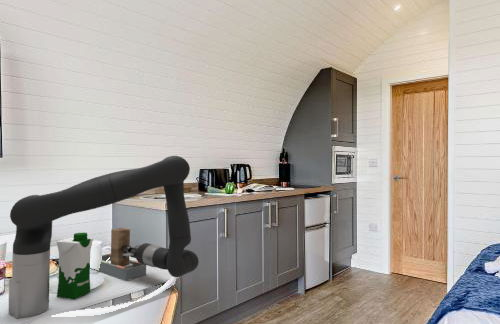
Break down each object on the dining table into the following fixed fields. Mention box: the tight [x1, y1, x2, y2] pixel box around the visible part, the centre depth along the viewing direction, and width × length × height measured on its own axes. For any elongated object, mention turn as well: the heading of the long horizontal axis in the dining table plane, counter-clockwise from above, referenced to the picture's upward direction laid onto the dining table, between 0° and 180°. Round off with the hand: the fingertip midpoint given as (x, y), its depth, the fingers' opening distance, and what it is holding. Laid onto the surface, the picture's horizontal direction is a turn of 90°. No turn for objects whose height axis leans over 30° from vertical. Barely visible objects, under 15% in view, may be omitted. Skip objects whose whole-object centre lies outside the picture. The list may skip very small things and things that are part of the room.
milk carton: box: [56, 232, 94, 301], centre depth 114 cm, size 9×9×20 cm
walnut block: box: [110, 227, 131, 266], centre depth 139 cm, size 5×5×14 cm
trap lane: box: [98, 253, 147, 282], centre depth 140 cm, size 9×26×4 cm, turn 53°
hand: (124, 247), depth 137 cm, fingers closed
